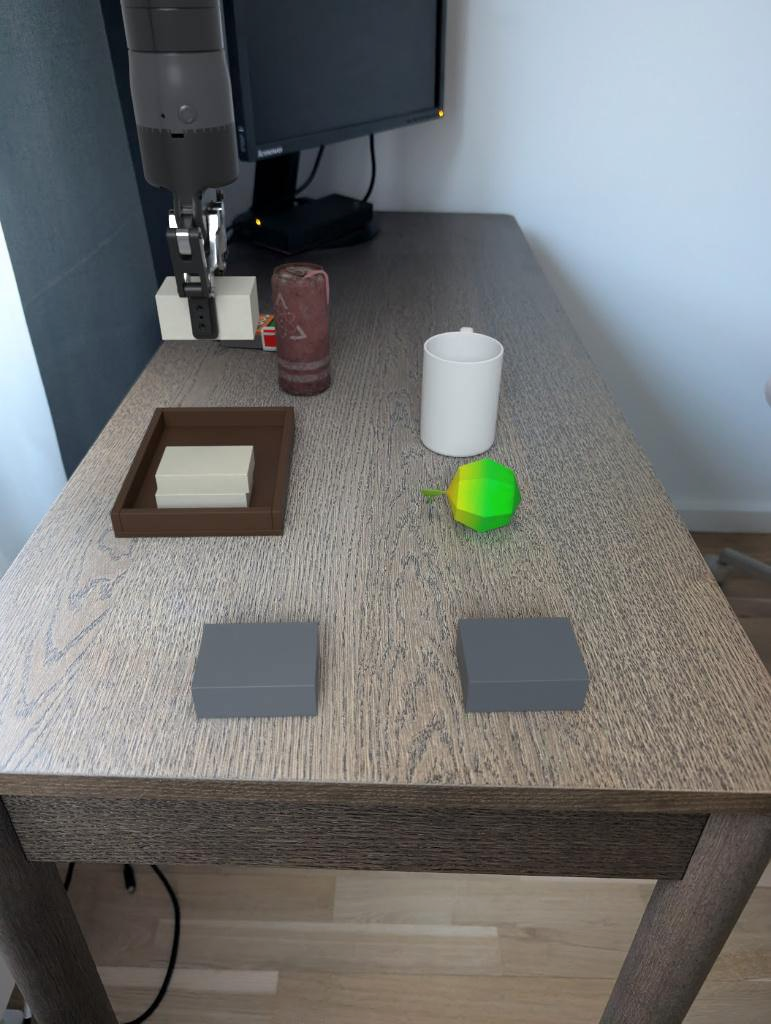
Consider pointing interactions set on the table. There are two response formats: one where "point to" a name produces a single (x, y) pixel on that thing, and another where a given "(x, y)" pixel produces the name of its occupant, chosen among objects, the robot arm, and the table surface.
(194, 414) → the tray
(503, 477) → the apple
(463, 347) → the mug
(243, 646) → the pair of grey blocks
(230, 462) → the cream layered block
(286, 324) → the can
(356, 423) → the table surface
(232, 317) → the cream rectangular block
